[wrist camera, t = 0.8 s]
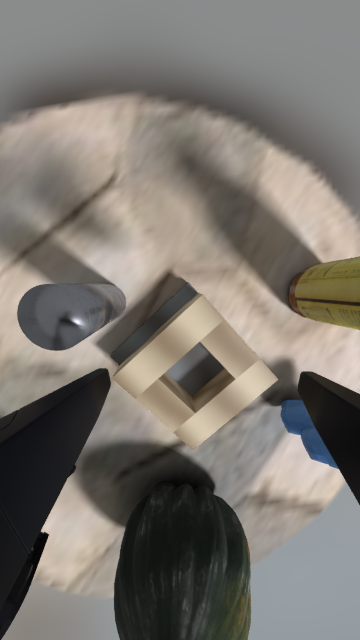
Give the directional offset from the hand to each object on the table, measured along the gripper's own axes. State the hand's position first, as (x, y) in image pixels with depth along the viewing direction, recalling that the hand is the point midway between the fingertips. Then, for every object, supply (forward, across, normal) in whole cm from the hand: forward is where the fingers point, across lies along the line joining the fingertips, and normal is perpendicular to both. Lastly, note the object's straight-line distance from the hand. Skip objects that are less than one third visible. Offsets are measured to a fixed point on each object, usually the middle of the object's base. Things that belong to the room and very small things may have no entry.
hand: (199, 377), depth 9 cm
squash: (+9, +3, +29) cm, 30 cm away
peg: (+12, +10, -1) cm, 16 cm away
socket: (+12, +1, +7) cm, 14 cm away
